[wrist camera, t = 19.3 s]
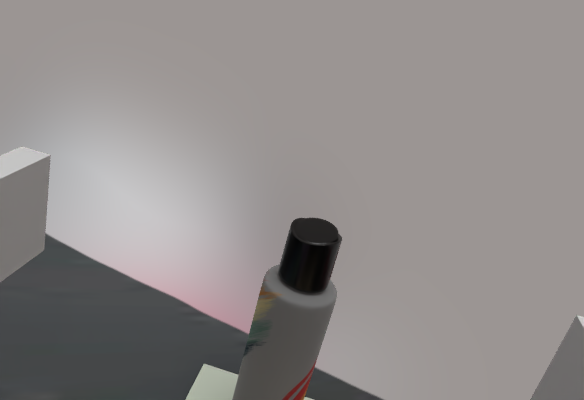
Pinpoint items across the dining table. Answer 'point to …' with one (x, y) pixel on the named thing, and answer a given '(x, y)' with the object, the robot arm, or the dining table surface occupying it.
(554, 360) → the robot arm
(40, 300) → the dining table surface
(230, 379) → the sage pad
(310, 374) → the lotion bottle
